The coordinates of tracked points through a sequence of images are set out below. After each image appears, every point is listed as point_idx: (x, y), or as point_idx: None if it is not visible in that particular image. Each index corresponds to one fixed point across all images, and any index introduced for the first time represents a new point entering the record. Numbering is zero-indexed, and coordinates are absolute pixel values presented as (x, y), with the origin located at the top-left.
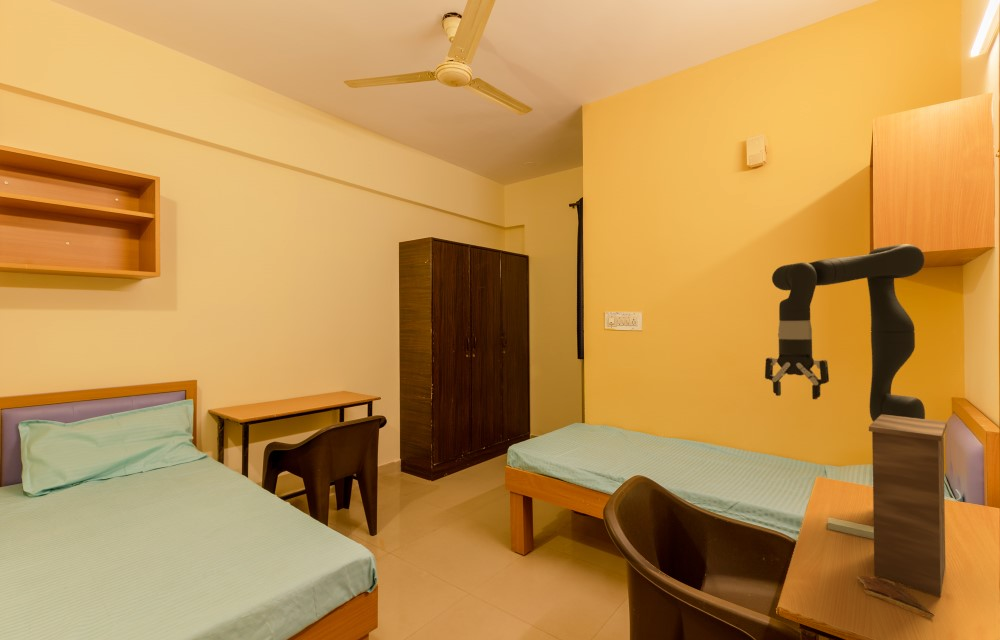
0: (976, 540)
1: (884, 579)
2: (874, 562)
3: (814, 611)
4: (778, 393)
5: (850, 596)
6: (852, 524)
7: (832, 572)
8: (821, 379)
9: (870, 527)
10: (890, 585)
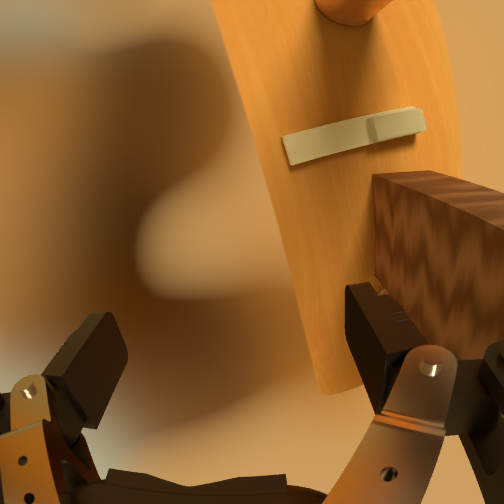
0: (434, 41)
1: (387, 291)
2: (381, 283)
3: (340, 383)
4: (123, 365)
5: None
6: (322, 137)
7: (337, 307)
8: (466, 441)
9: (346, 127)
10: None
